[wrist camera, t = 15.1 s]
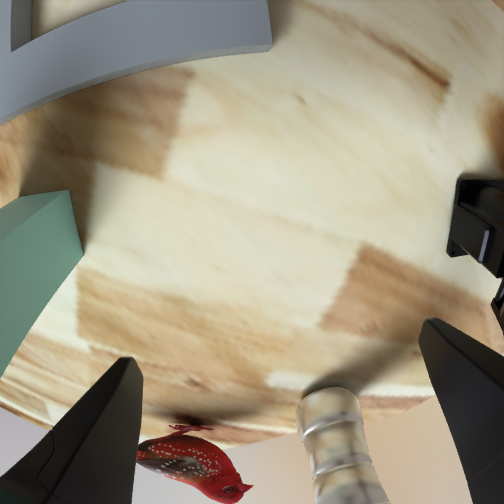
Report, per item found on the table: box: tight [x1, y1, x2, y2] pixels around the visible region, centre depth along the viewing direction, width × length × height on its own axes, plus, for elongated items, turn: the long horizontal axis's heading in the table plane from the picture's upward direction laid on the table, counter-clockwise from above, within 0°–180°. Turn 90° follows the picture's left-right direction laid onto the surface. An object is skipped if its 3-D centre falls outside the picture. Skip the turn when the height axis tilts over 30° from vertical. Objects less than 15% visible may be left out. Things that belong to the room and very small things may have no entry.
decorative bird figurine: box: [136, 425, 253, 504], centre depth 26 cm, size 3×18×10 cm, turn 87°
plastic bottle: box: [296, 387, 390, 504], centre depth 20 cm, size 6×7×20 cm
